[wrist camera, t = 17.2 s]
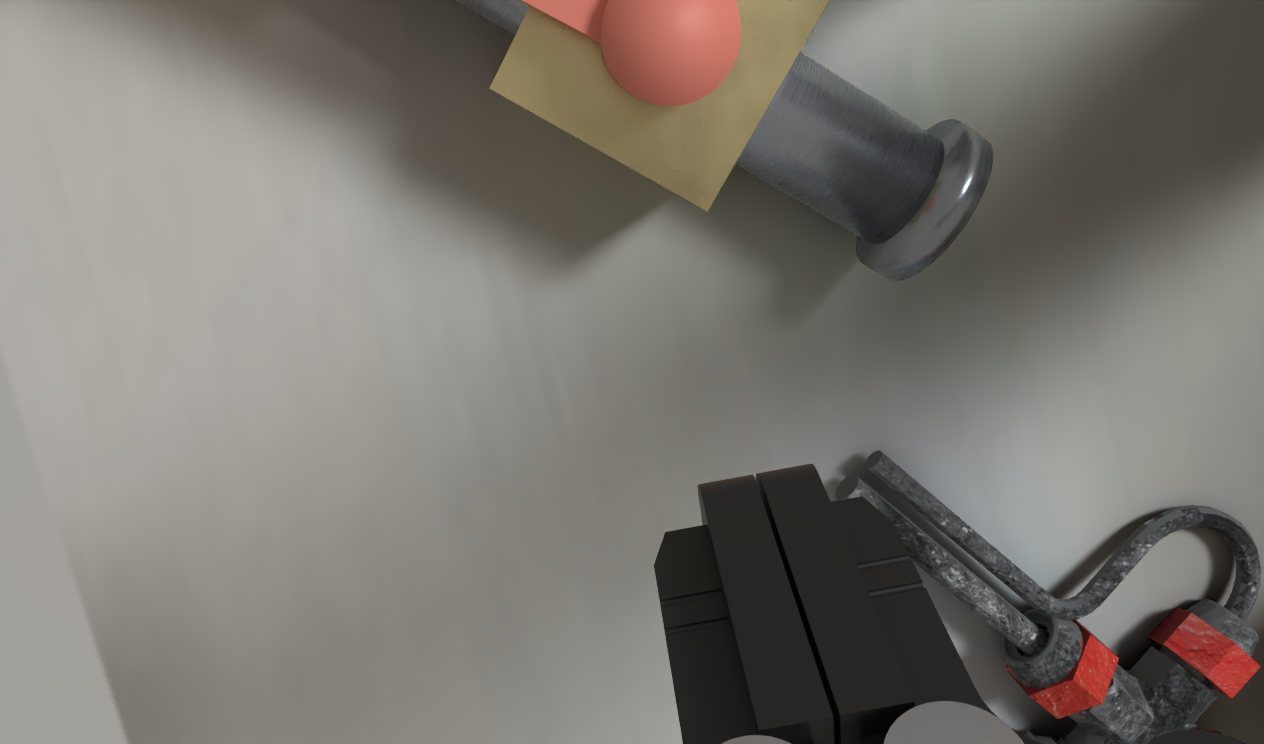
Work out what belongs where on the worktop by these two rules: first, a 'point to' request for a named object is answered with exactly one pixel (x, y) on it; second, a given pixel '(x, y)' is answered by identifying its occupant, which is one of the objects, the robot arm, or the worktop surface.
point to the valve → (1064, 649)
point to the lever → (657, 42)
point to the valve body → (761, 131)
